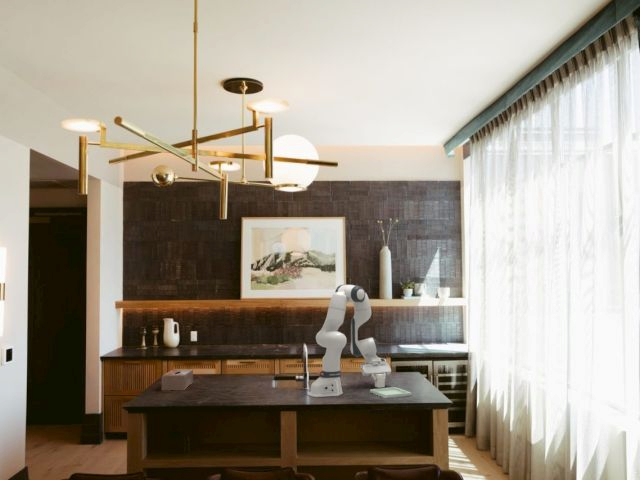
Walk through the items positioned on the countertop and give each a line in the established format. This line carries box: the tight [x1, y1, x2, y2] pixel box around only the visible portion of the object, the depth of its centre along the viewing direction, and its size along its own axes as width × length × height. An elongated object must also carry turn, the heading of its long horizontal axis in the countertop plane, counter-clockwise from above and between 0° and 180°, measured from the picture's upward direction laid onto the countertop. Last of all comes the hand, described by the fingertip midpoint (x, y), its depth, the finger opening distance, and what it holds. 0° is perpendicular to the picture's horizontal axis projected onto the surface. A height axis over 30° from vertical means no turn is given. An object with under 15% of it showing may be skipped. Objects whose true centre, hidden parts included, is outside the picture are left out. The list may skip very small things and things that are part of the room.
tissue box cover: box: [161, 369, 194, 391], centre depth 398 cm, size 26×14×10 cm, turn 179°
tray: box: [369, 386, 413, 399], centre depth 367 cm, size 18×20×2 cm
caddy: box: [374, 374, 386, 389], centre depth 385 cm, size 5×5×8 cm
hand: (380, 380), depth 385 cm, fingers closed on caddy, 5 cm apart
